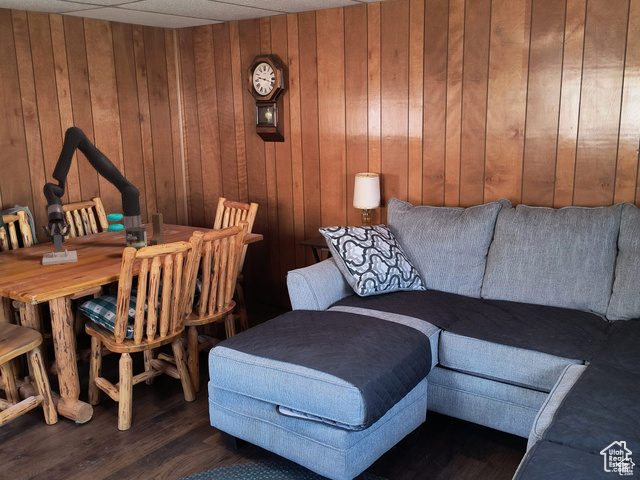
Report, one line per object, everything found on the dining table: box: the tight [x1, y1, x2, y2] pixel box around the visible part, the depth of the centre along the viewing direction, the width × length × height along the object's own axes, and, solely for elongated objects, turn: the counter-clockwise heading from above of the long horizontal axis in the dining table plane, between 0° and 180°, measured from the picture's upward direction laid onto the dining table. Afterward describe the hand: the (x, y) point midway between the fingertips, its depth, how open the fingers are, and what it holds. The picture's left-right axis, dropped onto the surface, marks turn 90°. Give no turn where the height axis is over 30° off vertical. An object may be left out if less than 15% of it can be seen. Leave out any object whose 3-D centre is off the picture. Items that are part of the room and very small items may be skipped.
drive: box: [53, 232, 63, 252], centre depth 306 cm, size 5×4×8 cm
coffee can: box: [126, 227, 148, 250], centre depth 313 cm, size 10×10×14 cm
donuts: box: [106, 213, 125, 232], centre depth 382 cm, size 10×10×10 cm
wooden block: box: [149, 212, 165, 247], centre depth 333 cm, size 9×4×18 cm, turn 169°
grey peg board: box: [42, 248, 78, 266], centre depth 308 cm, size 20×16×4 cm
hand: (58, 242), depth 304 cm, fingers closed on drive, 3 cm apart
